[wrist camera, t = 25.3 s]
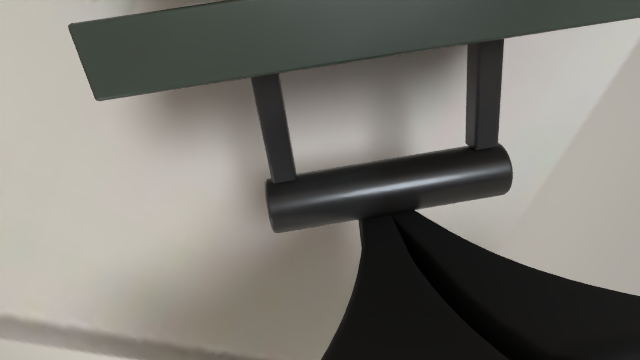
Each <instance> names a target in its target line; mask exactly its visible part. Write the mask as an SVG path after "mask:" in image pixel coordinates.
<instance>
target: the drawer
mask: <svg viewBox="0 0 640 360" xmlns="http://www.w3.org/2000/svg"><path fill="white" fill-rule="evenodd" d="M634 18H640V0H228V1H221V2H214V3H208V4H201V5H194V6H187V7H180V8H174V9H167V10H160V11H153V12H146V13H140V14H133V15H126V16H119V17H112V18H105V19H99V20H92V21H85V22H78V23H71V24H70V25H68V28H69V31H70V34H71V36H72V39H73V42H74V44H75V47H76V50H77V52H78V55H79V58H80V60H81V63H82V65H83V68H84V71H85V73H86V76H87V79H88V81H89V84H90V87H91V89H92V92H93V95H94V97H95V99H96V100H97V101H104V100H110V99H117V98H123V97H129V96H136V95H142V94H149V93H155V92H162V91H168V90H175V89H181V88H188V87H194V86H201V85H207V84H214V83H220V82H226V81H233V80H239V79H246V78H251V82H252V86H253V91H254V96H255V101H256V106H257V111H258V116H259V120H260V125H261V130H262V135H263V140H264V145H265V150H266V155H267V159H268V164H269V169H270V174H271V178H270V179H267V180H266V182H265V193H266V202H267V208H268V214H269V219H270V223H271V227H272V229H273V231H274V233H282V232H288V231H294V230H300V229H306V228H312V227H317V226H323V225H329V224H335V223H341V222H347V221H353V220H359V219H364V218H370V217H376V216H382V215H388V214H394V213H400V212H405V211H411V210H417V209H423V208H429V207H435V206H441V205H447V204H452V203H458V202H464V201H470V200H476V199H482V198H488V197H493V196H499V195H504V194H505V193H507V192H508V191H509V189H510V187H511V185H512V179H513V172H512V165H511V161H510V158H509V155H508V153H507V151H506V150H505V148H504V147H503V146H502V145H501V144H499V143H498V131H499V114H500V97H501V80H502V63H503V46H504V39H505V38H511V37H517V36H524V35H530V34H537V33H543V32H550V31H556V30H563V29H569V28H576V27H582V26H589V25H595V24H602V23H608V22H614V21H621V20H627V19H634ZM466 44H468V51H467V97H466V144H467V145H469V146H464V147H458V148H452V149H446V150H440V151H434V152H428V153H422V154H415V155H409V156H403V157H397V158H391V159H385V160H379V161H373V162H367V163H361V164H355V165H349V166H343V167H337V168H331V169H324V170H318V171H312V172H306V173H300V174H296V168H295V163H294V157H293V151H292V146H291V140H290V134H289V128H288V123H287V117H286V111H285V106H284V100H283V94H282V88H281V83H280V77H279V73H285V72H291V71H298V70H304V69H311V68H317V67H323V66H330V65H336V64H343V63H349V62H356V61H362V60H369V59H375V58H382V57H388V56H395V55H401V54H408V53H414V52H420V51H427V50H433V49H440V48H446V47H453V46H459V45H466Z"/></svg>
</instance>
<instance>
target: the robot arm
mask: <svg viewBox="0 0 640 360" xmlns="http://www.w3.org/2000/svg"><path fill="white" fill-rule="evenodd" d="M359 228H360V237H361V246H362V251H361V258H360V264H359V269H358V274H357V278H356V282H355V286H354V289H353V292H352V295H351V298H350V301H349V304H348V306H347V309H346V312H345V314H344V316H343V319H342V321H341V323H340V325H339V327H338V329H337V331H336V333H335V335H334V337H333V339H332V341H331V343H330V345H329V347H328V349H327V350H326V352H325V354H324V355H323V357H322V359H321V360H640V296H636V295H631V294H627V293H622V292H618V291H613V290H609V289H605V288H601V287H596V286H592V285H588V284H584V283H581V282H577V281H573V280H569V279H566V278H563V277H560V276H556V275H553V274H550V273H547V272H543V271H540V270H537V269H534V268H531V267H528V266H525V265H523V264H520V263H518V262H515V261H512V260H510V259H507V258H505V257H502V256H500V255H497V254H495V253H493V252H490V251H488V250H486V249H484V248H482V247H480V246H478V245H476V244H473V243H471V242H469V241H467V240H465V239H463V238H461V237H460V236H458V235H456V234H454V233H452V232H450V231H448V230H447V229H445V228H443V227H441V226H440V225H438V224H436V223H435V222H433V221H431V220H429V219H428V218H426V217H424V216H423V215H421V214H420V213H418V212H416V211H415V210H411V211H405V212H400V213H394V214H388V215H382V216H376V217H370V218H364V219H359Z"/></svg>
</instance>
